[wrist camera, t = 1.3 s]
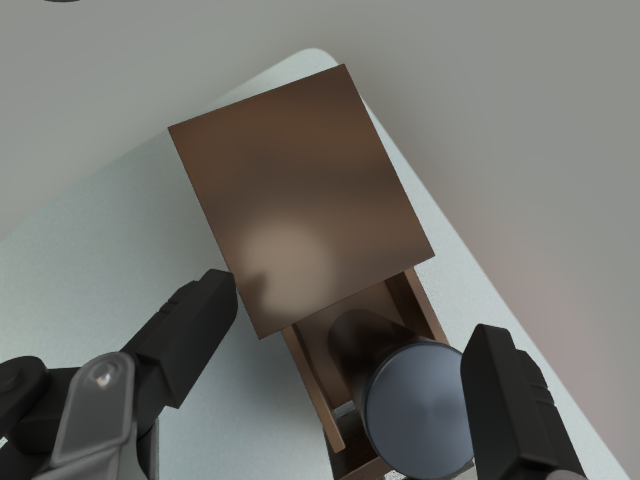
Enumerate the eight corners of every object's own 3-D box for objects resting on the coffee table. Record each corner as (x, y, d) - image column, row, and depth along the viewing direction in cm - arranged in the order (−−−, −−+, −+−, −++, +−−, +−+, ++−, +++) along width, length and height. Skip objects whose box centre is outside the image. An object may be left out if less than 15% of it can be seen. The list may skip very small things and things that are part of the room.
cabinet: (392, 260, 29) (435, 255, 20) (268, 318, 27) (259, 340, 19) (328, 123, 30) (344, 62, 21) (203, 171, 28) (166, 127, 19)
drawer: (463, 421, 27) (522, 471, 20) (348, 487, 25) (370, 565, 19) (379, 239, 28) (408, 229, 21) (263, 292, 26) (255, 300, 20)
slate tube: (312, 341, 25) (336, 414, 12) (358, 293, 26) (427, 314, 13) (359, 390, 25) (432, 513, 12) (404, 340, 26) (517, 407, 13)
